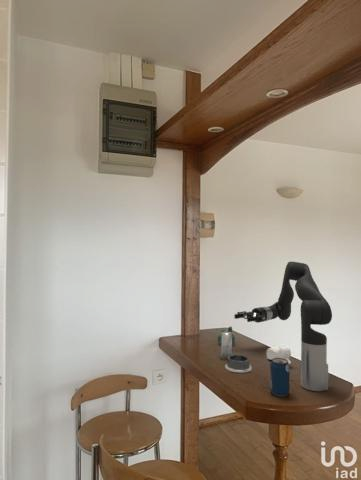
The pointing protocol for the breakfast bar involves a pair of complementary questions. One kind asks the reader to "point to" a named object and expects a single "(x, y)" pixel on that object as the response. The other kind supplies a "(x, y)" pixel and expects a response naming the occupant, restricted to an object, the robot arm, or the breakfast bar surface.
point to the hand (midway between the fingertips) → (241, 318)
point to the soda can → (279, 377)
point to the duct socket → (238, 364)
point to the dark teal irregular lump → (221, 337)
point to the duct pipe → (226, 345)
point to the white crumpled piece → (279, 353)
